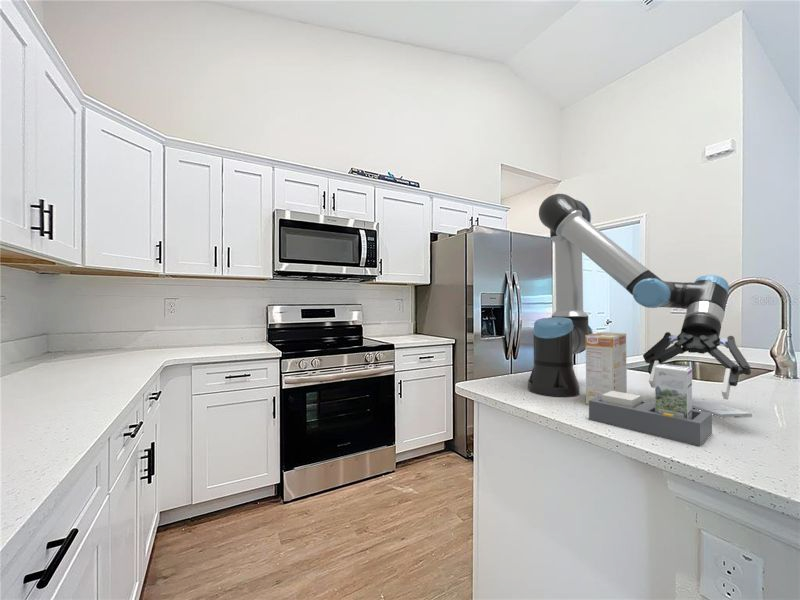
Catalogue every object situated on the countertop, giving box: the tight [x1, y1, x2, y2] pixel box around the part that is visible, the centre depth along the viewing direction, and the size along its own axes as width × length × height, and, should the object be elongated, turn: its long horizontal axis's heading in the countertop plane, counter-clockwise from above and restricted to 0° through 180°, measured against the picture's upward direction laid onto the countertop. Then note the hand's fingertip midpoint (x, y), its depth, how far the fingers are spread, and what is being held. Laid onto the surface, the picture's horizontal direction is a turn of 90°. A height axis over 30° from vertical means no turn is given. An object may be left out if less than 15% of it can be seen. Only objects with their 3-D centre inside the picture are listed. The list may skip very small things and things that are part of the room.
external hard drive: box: [692, 398, 753, 418], centre depth 94 cm, size 2×8×12 cm
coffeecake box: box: [585, 331, 628, 406], centre depth 101 cm, size 15×7×20 cm, turn 134°
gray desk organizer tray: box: [588, 391, 713, 447], centre depth 81 cm, size 21×11×6 cm, turn 39°
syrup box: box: [654, 363, 693, 420], centre depth 77 cm, size 6×6×14 cm
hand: (685, 389), depth 83 cm, fingers open, 13 cm apart
